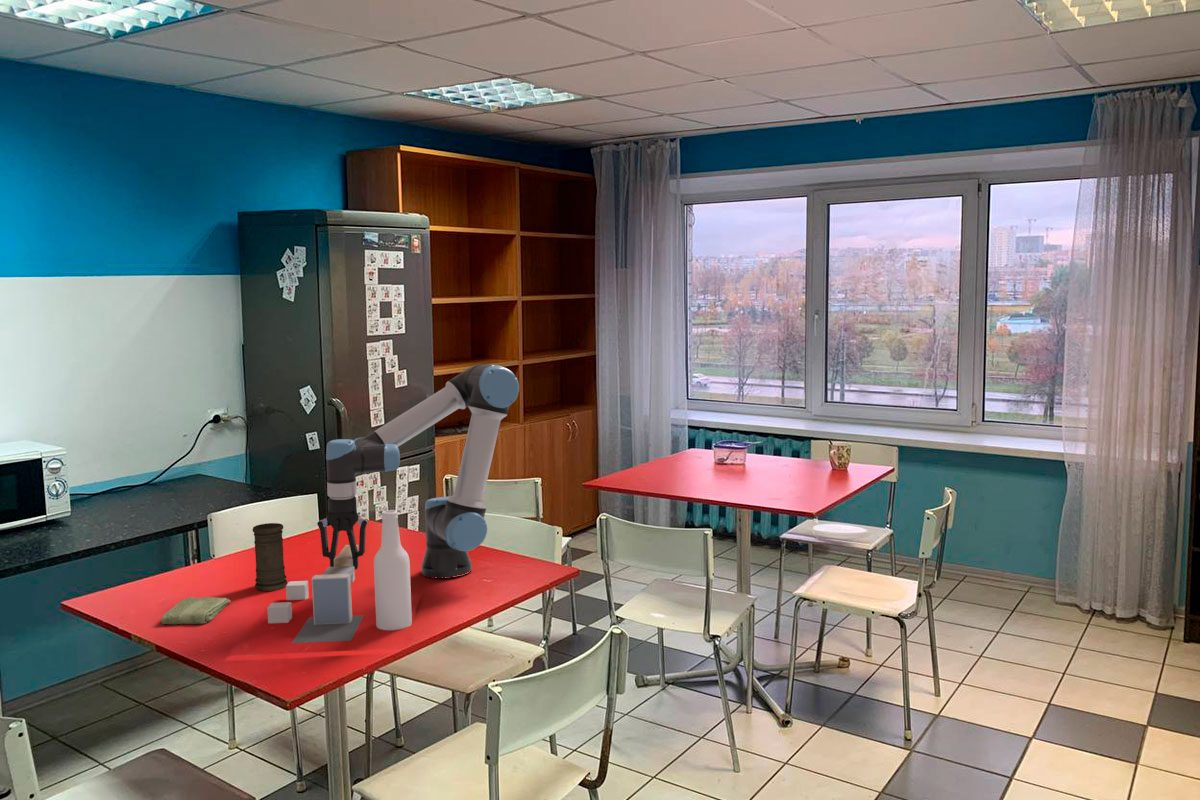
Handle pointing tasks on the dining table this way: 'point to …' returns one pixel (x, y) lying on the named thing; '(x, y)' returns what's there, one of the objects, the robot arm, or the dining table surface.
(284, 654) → the dining table surface
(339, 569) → the beige tapered bar
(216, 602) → the washcloth
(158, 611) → the dining table surface
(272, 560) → the container
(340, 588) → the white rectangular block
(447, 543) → the robot arm
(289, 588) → the tool rest
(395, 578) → the alcohol
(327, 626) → the mat
